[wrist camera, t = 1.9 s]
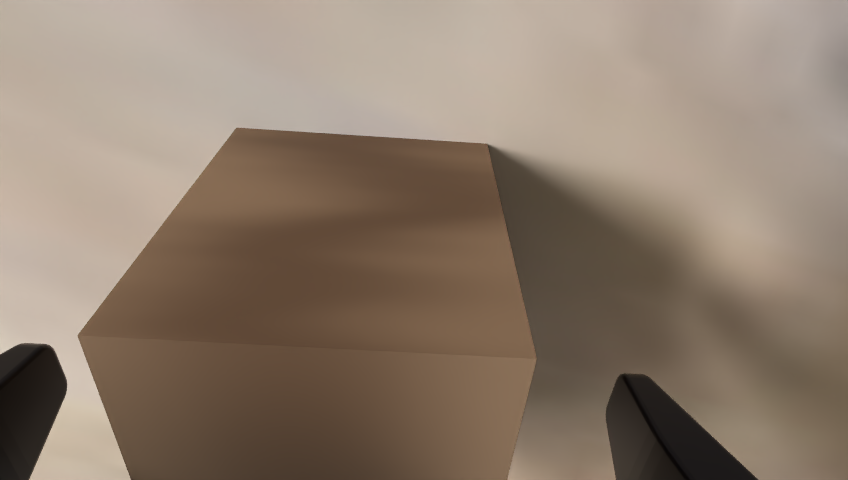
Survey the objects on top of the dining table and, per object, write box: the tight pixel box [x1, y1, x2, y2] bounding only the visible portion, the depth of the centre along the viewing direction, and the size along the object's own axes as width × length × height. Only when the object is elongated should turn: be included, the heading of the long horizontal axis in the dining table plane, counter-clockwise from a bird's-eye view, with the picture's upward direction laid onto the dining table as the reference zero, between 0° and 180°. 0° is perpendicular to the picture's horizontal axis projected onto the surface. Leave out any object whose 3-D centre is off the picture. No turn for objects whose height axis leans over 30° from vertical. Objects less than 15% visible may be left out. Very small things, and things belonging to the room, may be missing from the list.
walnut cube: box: [78, 128, 537, 480], centre depth 10 cm, size 5×5×6 cm
